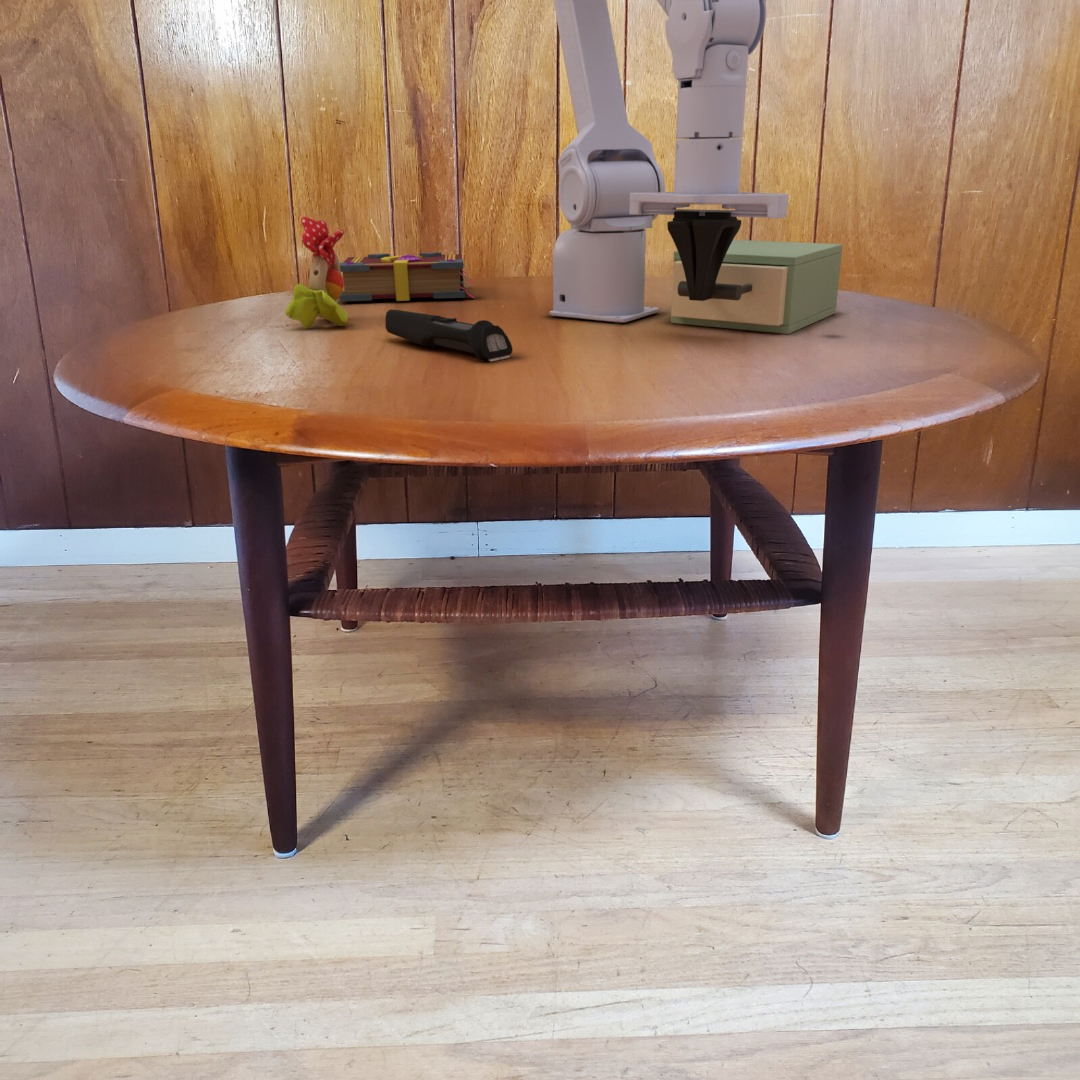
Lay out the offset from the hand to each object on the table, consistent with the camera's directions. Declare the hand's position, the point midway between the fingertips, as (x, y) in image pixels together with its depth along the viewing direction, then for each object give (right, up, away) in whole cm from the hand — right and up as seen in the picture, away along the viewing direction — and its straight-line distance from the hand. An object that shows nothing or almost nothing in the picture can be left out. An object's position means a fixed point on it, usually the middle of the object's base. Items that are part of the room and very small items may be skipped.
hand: (700, 299), depth 85 cm
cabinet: (+8, +1, +11) cm, 14 cm away
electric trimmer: (-24, -5, -1) cm, 24 cm away
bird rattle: (-38, +1, +13) cm, 40 cm away
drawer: (+5, +1, +8) cm, 10 cm away
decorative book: (-31, +8, +31) cm, 45 cm away
